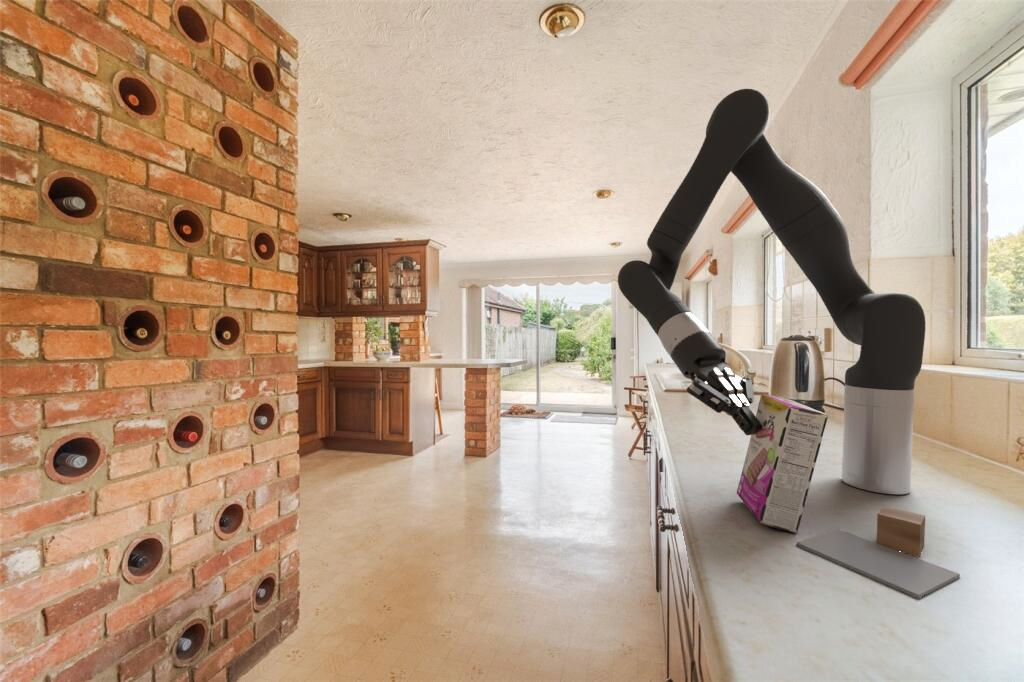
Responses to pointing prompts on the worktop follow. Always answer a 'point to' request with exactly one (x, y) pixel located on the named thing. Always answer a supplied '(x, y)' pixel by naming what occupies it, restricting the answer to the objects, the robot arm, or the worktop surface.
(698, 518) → the worktop surface
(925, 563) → the plate
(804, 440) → the candy bar box
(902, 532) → the walnut block
